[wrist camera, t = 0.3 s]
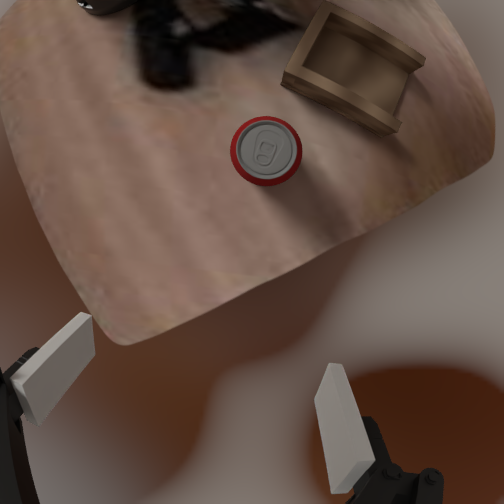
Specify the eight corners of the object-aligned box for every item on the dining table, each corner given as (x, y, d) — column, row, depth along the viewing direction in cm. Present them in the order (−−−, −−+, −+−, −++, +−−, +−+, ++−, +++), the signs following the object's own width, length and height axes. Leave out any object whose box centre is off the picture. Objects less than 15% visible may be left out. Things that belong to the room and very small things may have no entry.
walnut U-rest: (280, 84, 34) (283, 72, 29) (317, 16, 31) (324, -2, 26) (381, 137, 35) (397, 133, 30) (410, 67, 32) (426, 56, 27)
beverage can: (299, 142, 36) (315, 129, 24) (280, 190, 38) (289, 198, 26) (249, 123, 35) (243, 102, 24) (230, 171, 37) (217, 171, 26)
